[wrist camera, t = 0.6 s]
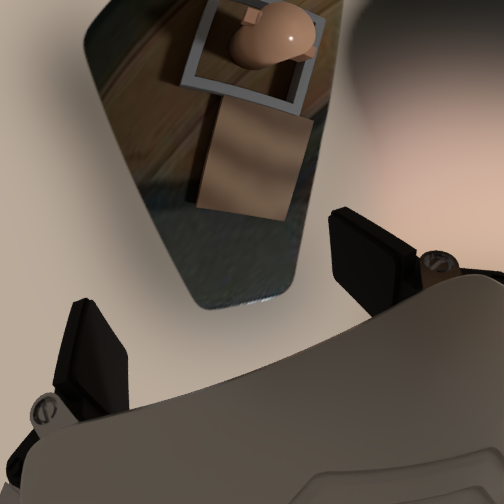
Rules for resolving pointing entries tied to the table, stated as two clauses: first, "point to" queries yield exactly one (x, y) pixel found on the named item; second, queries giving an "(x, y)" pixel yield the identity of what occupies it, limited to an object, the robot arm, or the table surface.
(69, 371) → the robot arm
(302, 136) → the board
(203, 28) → the holder frame
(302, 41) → the tan tapered capsule
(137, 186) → the table surface
